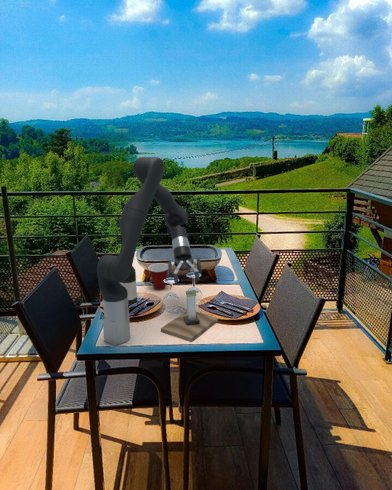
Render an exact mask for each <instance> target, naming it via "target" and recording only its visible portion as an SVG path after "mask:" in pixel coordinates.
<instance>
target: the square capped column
mask: <svg viewBox="0 0 392 490" xmlns="http://www.w3.org/2000/svg"><path fill="white" fill-rule="evenodd" d="M185 295H186V311H187V316H183V319H184V322H185V324H186V326H187V325H195V324H200V320H199V318H198V317H197V315H196V312H197V308H196V306H197V305H196V297H197V292H196V291H195V289H193V290H186V291H185Z"/></svg>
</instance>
